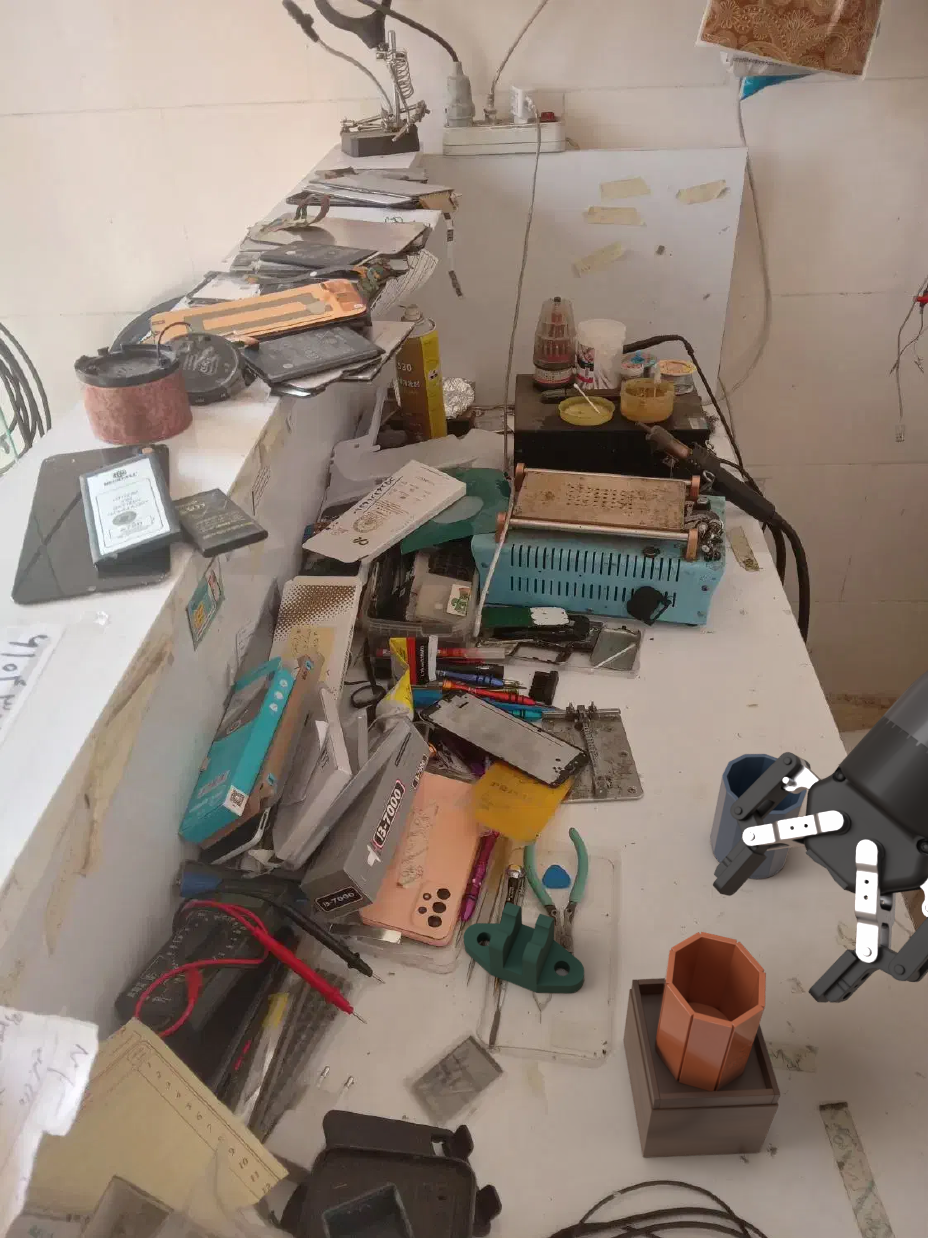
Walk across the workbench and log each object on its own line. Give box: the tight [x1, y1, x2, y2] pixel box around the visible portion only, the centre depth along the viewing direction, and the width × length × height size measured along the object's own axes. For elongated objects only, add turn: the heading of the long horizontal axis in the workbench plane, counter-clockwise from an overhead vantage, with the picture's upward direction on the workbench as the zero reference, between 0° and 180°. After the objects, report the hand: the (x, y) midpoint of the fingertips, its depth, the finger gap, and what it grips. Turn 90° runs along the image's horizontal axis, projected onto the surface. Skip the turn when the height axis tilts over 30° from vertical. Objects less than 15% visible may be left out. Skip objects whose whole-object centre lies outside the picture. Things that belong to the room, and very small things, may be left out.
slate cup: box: [709, 753, 808, 880], centre depth 77 cm, size 7×7×10 cm
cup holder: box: [623, 977, 781, 1158], centre depth 60 cm, size 8×8×10 cm
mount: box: [463, 901, 585, 994], centre depth 70 cm, size 11×4×5 cm, turn 66°
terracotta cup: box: [655, 931, 767, 1091], centre depth 55 cm, size 6×6×9 cm
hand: (766, 941), depth 53 cm, fingers open, 8 cm apart
